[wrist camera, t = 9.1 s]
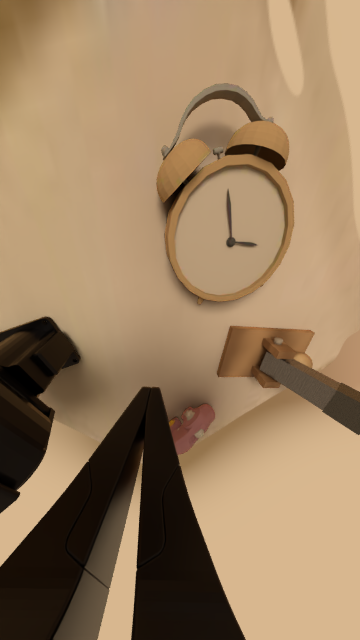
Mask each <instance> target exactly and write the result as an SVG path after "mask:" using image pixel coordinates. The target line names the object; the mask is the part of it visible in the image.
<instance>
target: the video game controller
mask: <svg viewBox="0 0 360 640" xmlns="http://www.w3.org/2000/svg"><path fill="white" fill-rule="evenodd" d="M181 418H182V420H183V424H182V425H181V422H180V420H179V419H178V418H177V417H175V418H173V419H172V420H170V422H169V425H170V429H171V432H172V436H173V440H174V444H175V448H176V452H177V455H178V454H183V453H185V452H187V451H188V450H189V449H190V448H191V447H192V446H193V444H194V443H195V442H196V441H197V440H198V439H199V438H201V437H202V436H203V434H204V433H205V432H206V430H207V429H208V427H209V425H210V423H211V422H212V421H213V420H214V419H215V412H214V410H213V408H212V407H211V406H210V405H208V404H203V405H201V406H200V407H197V408H192V407H188V408H187V409H186V410H185V411H184V412H183V414H182V417H181Z"/></svg>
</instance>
